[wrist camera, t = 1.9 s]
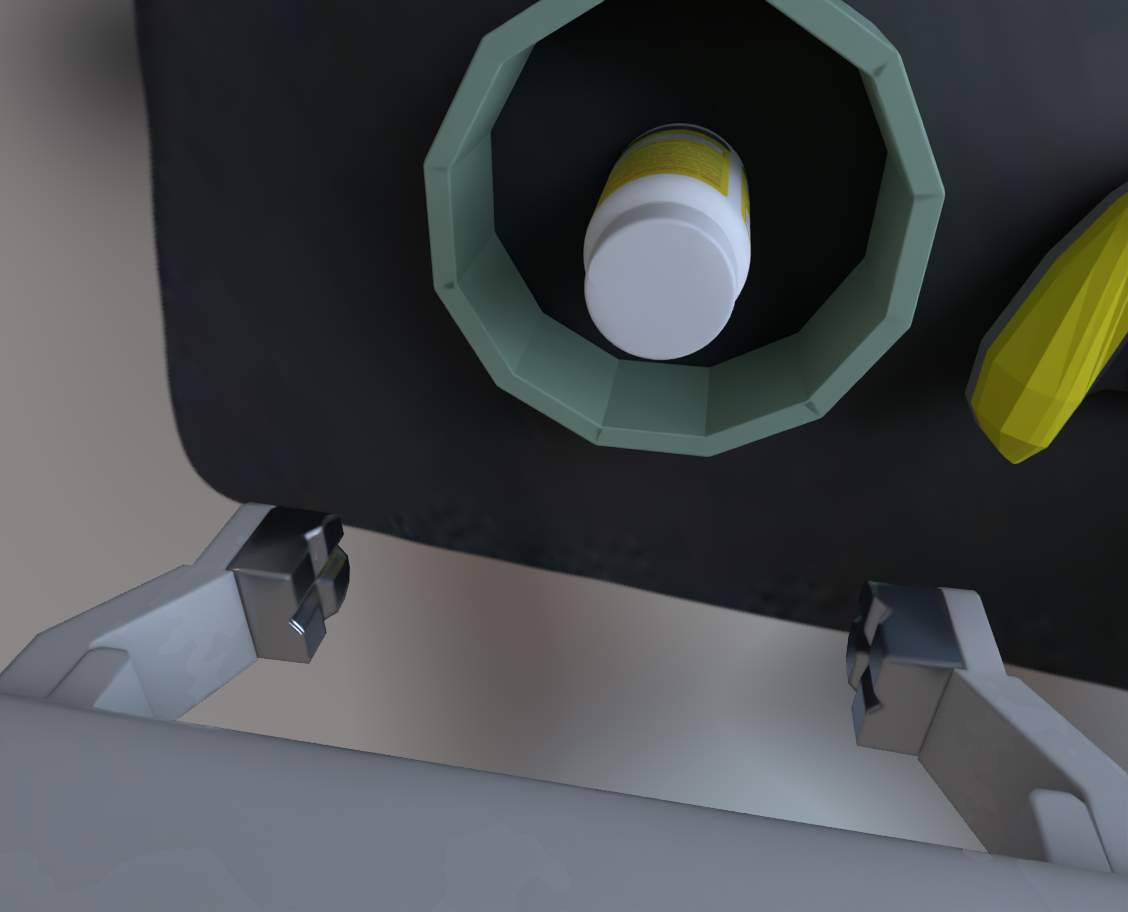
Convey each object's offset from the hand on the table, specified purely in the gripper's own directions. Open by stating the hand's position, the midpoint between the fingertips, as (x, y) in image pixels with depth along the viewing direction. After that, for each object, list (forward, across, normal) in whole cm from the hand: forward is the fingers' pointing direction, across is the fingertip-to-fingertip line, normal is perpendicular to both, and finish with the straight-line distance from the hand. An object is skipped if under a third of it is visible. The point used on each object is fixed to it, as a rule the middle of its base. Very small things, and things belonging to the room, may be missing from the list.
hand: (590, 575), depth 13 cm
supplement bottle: (+20, 0, 0) cm, 20 cm away
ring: (+19, 0, 0) cm, 19 cm away
